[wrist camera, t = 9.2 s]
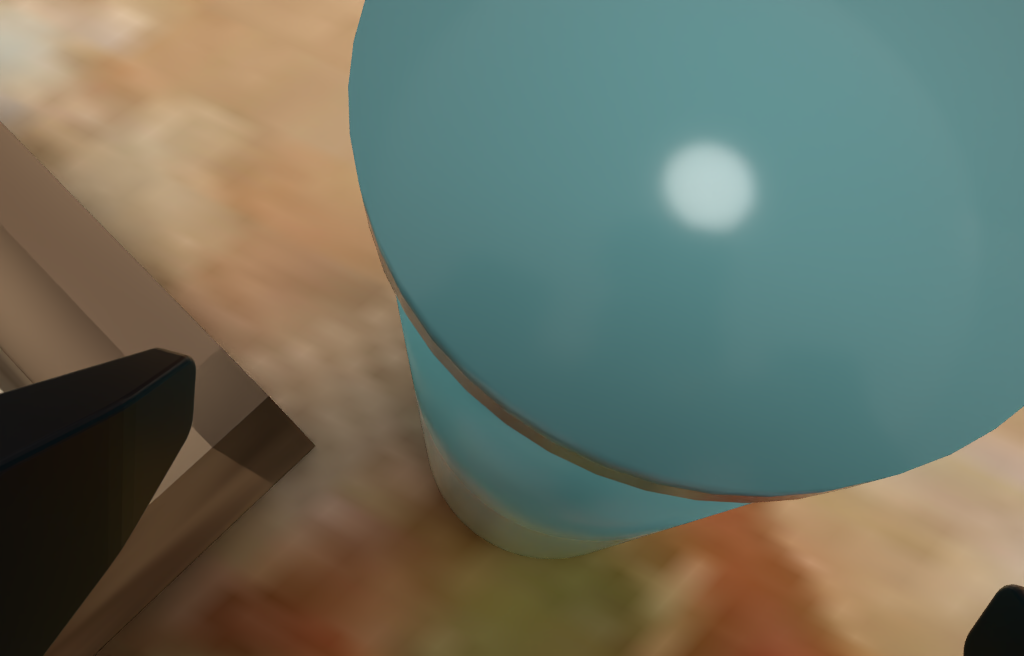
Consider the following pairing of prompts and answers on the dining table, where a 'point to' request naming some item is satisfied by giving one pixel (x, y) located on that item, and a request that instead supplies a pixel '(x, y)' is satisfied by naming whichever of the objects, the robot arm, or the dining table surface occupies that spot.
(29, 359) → the caddy
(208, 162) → the dining table surface
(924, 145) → the jar
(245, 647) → the dining table surface
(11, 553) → the robot arm
